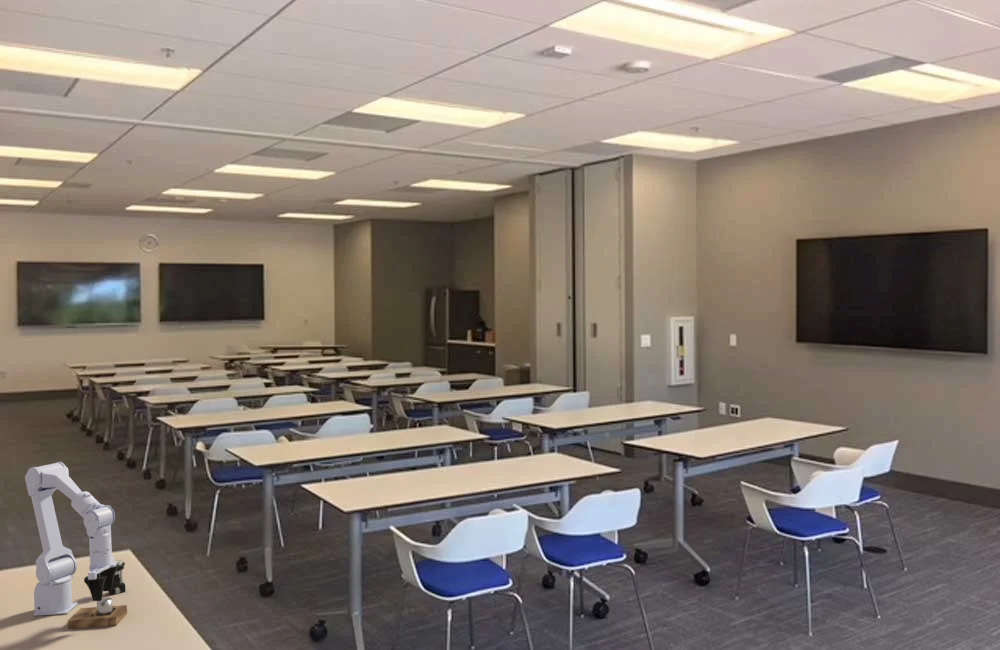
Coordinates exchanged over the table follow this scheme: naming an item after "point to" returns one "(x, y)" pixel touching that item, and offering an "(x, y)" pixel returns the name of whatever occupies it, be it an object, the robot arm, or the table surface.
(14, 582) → the table surface
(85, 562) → the table surface
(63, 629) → the table surface
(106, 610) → the brushed metal cylinder
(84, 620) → the jig
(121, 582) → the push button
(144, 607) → the table surface
